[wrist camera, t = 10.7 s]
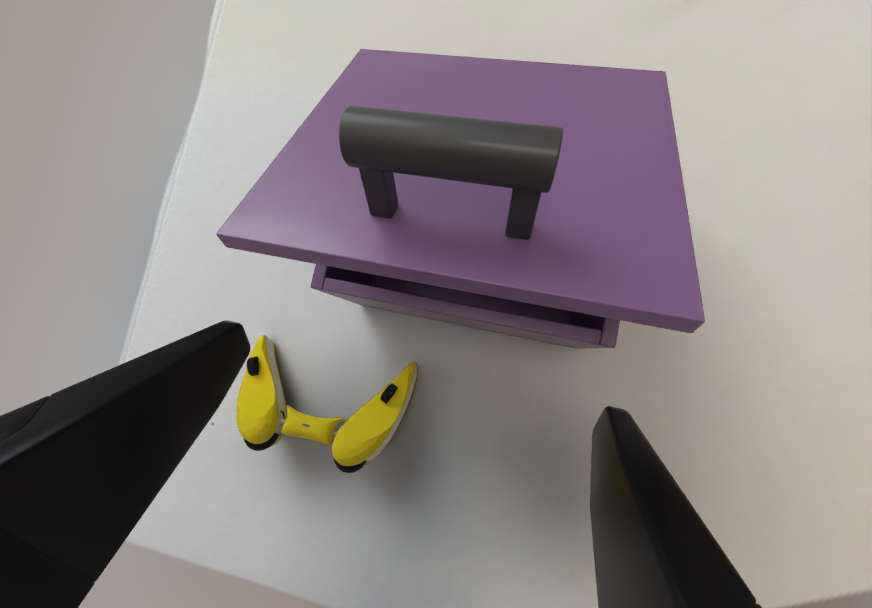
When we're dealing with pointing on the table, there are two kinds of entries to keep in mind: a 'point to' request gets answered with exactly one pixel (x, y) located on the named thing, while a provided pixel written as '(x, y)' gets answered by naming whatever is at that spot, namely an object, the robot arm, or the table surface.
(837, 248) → the table surface
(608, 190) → the lid
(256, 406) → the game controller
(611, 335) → the box
